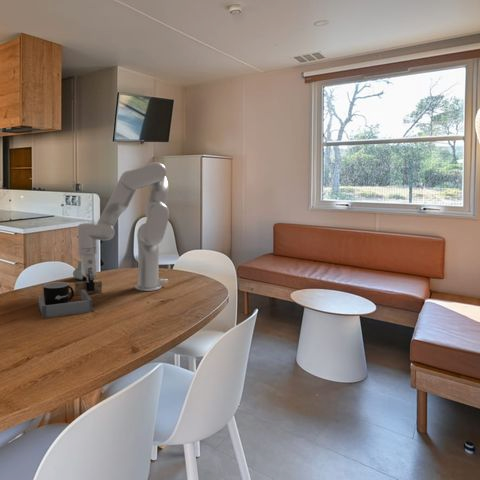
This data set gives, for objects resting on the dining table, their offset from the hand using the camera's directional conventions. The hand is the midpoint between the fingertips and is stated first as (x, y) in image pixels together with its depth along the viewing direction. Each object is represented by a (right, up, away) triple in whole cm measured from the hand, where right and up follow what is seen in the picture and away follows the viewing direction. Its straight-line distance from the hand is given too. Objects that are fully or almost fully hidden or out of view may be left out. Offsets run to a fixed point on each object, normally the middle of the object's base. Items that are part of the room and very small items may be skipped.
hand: (88, 288), depth 171 cm
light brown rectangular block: (0, -2, 0) cm, 3 cm away
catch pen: (-1, -5, -20) cm, 21 cm away
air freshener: (-12, +1, +25) cm, 27 cm away
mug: (-2, -6, -21) cm, 22 cm away
